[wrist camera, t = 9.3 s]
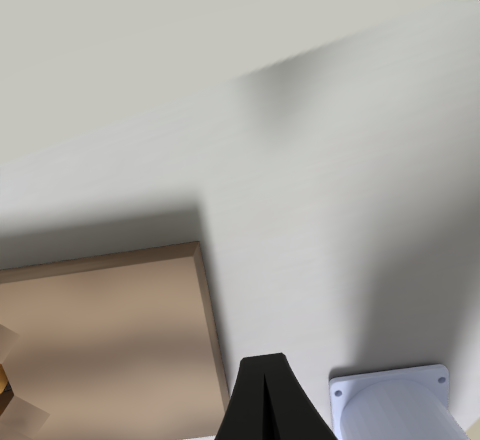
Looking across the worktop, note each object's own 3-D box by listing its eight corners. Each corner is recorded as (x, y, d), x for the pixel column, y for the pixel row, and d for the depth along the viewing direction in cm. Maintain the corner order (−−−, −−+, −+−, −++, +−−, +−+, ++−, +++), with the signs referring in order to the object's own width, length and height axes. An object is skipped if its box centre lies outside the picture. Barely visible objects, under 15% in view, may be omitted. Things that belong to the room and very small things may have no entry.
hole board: (229, 400, 21) (228, 433, 19) (-42, 435, 22) (-77, 472, 19) (198, 241, 18) (192, 256, 16) (-115, 286, 19) (-168, 308, 16)
